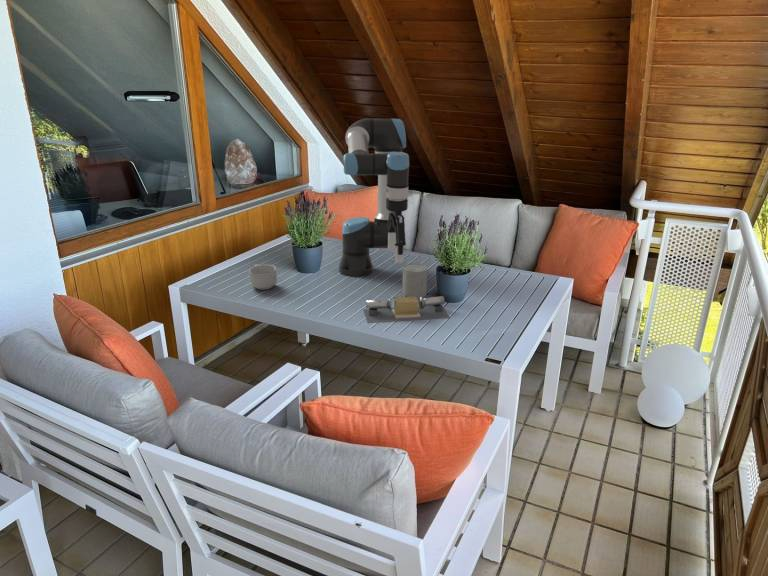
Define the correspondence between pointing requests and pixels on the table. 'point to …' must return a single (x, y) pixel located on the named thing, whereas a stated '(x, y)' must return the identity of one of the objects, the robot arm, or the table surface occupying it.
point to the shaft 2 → (432, 303)
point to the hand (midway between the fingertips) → (395, 255)
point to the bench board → (389, 316)
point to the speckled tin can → (414, 280)
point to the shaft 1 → (377, 306)
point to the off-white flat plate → (405, 315)
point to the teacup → (263, 276)
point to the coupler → (406, 306)
